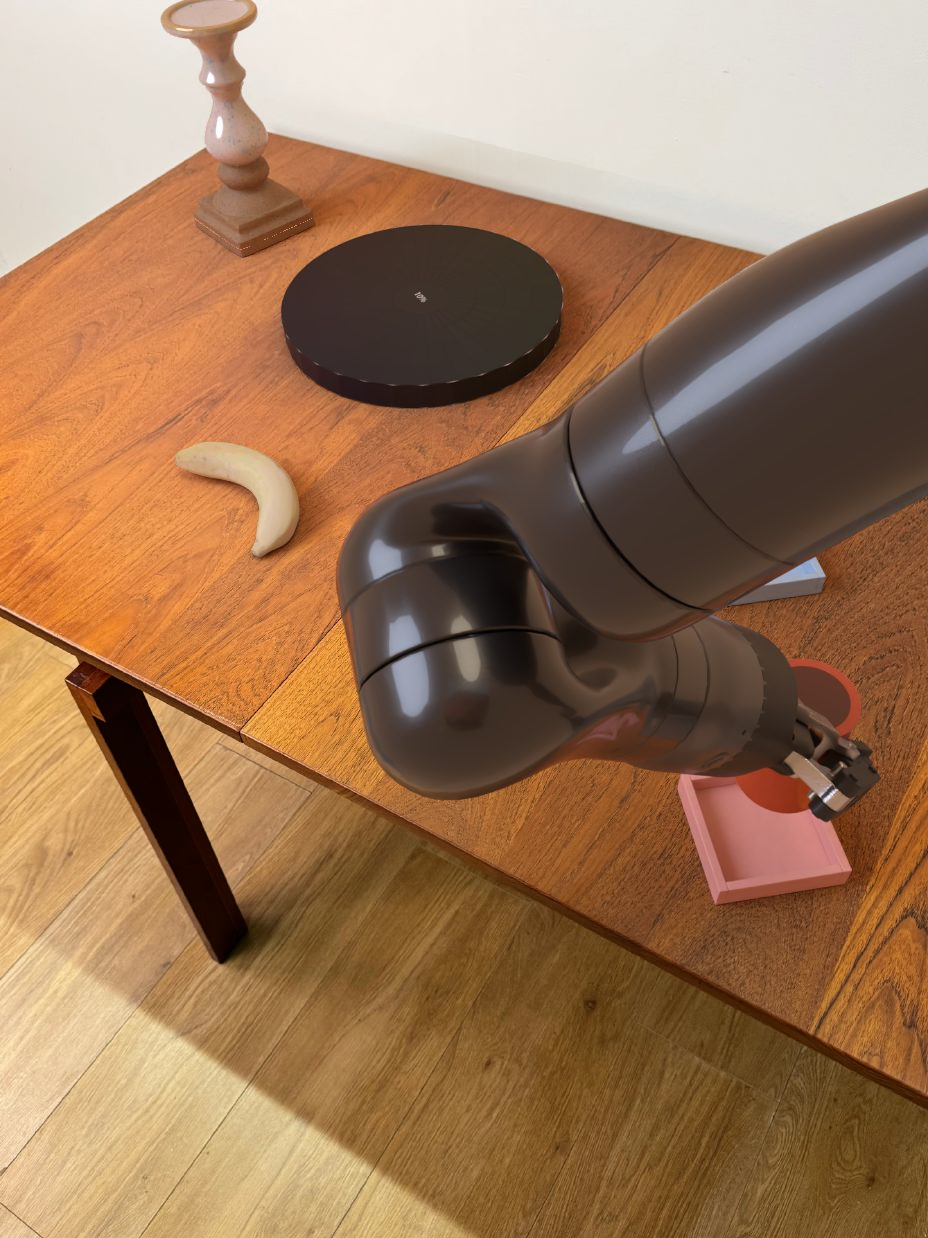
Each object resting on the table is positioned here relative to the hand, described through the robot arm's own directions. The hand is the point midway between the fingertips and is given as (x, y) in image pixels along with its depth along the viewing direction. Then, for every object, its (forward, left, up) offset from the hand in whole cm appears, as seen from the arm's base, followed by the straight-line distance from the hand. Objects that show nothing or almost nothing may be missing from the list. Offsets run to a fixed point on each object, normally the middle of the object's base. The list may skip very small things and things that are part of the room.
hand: (817, 721), depth 59 cm
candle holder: (+35, -89, -12) cm, 97 cm away
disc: (+17, -64, -12) cm, 68 cm away
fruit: (+37, -39, -12) cm, 55 cm away
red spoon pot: (+2, +1, -4) cm, 5 cm away
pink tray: (+2, +1, -12) cm, 12 cm away
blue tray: (-5, -29, -12) cm, 32 cm away
